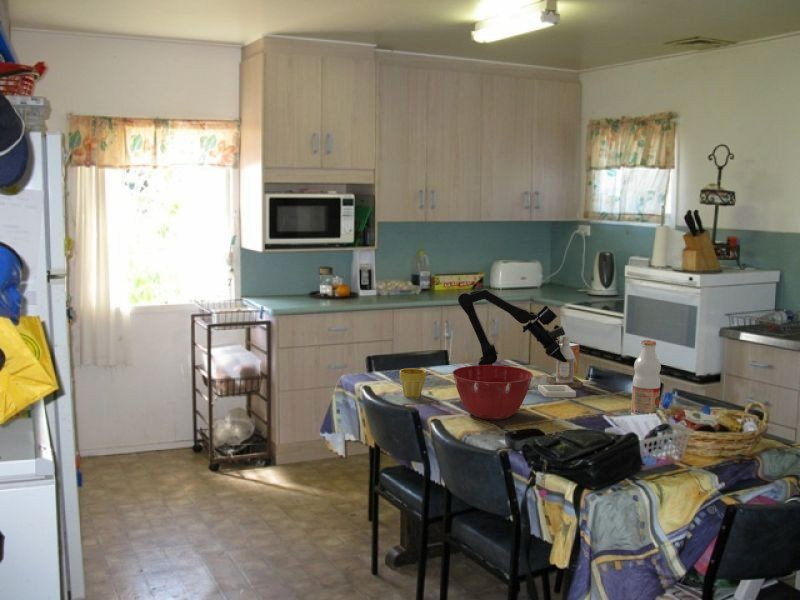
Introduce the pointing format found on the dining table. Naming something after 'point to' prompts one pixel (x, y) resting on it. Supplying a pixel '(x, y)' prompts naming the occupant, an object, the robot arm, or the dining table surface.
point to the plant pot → (412, 381)
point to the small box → (576, 355)
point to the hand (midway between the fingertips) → (565, 359)
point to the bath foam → (565, 369)
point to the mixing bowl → (492, 389)
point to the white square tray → (556, 391)
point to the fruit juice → (646, 381)
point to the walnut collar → (574, 384)
